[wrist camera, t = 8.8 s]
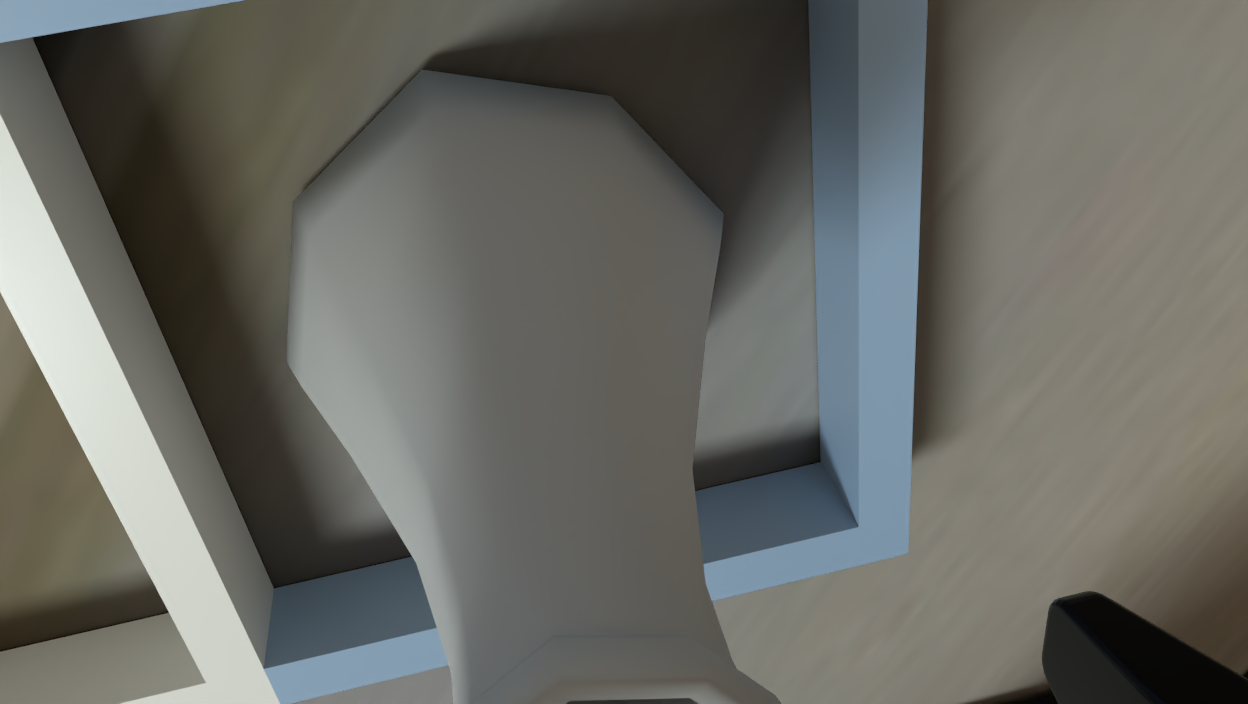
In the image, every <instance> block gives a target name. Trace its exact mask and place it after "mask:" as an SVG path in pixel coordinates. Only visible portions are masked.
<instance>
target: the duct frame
mask: <svg viewBox="0 0 1248 704" xmlns="http://www.w3.org/2000/svg"><path fill="white" fill-rule="evenodd" d="M237 1H243V0H0V292H1V294H2V296H3V298H4V300H5V302H6V304H7V306H8V308H9V310H10V311H11V313H12V315H13V317H14V319H15V321H16V323H17V325H18V327H19V329H20V330H21V332H22V334H23V336H24V338H25V340H26V342H27V344H28V346H29V347H30V349H31V351H32V353H33V355H34V357H35V359H36V361H37V363H38V365H39V366H40V368H41V370H42V372H43V374H44V376H45V378H46V380H47V382H48V384H49V385H50V387H51V389H52V391H53V393H54V395H55V397H56V399H57V401H58V403H59V404H60V406H61V408H62V410H63V412H64V414H65V416H66V418H67V420H68V422H69V423H70V425H71V427H72V429H73V431H74V433H75V435H76V437H77V439H78V441H79V442H80V444H81V446H82V448H83V450H84V452H85V454H86V456H87V458H88V460H89V461H90V463H91V465H92V467H93V469H94V471H95V473H96V475H97V477H98V479H99V480H100V482H101V484H102V486H103V488H104V490H105V492H106V494H107V496H108V498H109V499H110V501H111V503H112V505H113V507H114V509H115V511H116V513H117V515H118V517H119V518H120V520H121V522H122V524H123V526H124V528H125V530H126V532H127V534H128V536H129V537H130V539H131V541H132V543H133V545H134V547H135V549H136V551H137V553H138V555H139V556H140V558H141V560H142V562H143V564H144V566H145V568H146V570H147V572H148V574H149V575H150V577H151V579H152V581H153V583H154V585H155V587H156V589H157V591H158V593H159V594H160V596H161V598H162V600H163V602H164V604H165V606H166V608H167V610H168V612H169V613H166V614H162V615H157V616H153V617H149V618H144V619H140V620H136V621H131V622H127V623H123V624H118V625H114V626H110V627H105V628H101V629H97V630H92V631H88V632H84V633H80V634H75V635H71V636H67V637H62V638H58V639H54V640H49V641H45V642H41V643H36V644H32V645H28V646H23V647H19V648H15V649H10V650H6V651H2V652H0V704H291V703H295V702H299V701H303V700H307V699H311V698H315V697H319V696H324V695H328V694H332V693H336V692H340V691H344V690H348V689H352V688H357V687H361V686H365V685H369V684H373V683H377V682H381V681H385V680H390V679H394V678H398V677H402V676H406V675H410V674H414V673H418V672H422V671H427V670H431V669H435V668H439V667H443V666H447V665H449V664H448V661H447V658H446V655H445V652H444V649H443V646H442V642H441V639H440V636H439V633H438V630H437V627H436V624H435V620H434V617H433V614H432V611H431V608H430V605H429V602H428V598H427V595H426V592H425V589H424V586H423V583H422V580H421V576H420V573H419V570H418V567H417V564H416V562H415V560H414V559H413V557H408V558H404V559H400V560H395V561H391V562H387V563H382V564H378V565H374V566H369V567H365V568H361V569H356V570H352V571H348V572H343V573H339V574H335V575H330V576H326V577H322V578H317V579H313V580H309V581H304V582H300V583H296V584H291V585H287V586H283V587H278V588H273V586H272V583H271V581H270V579H269V576H268V574H267V572H266V570H265V567H264V565H263V563H262V560H261V558H260V556H259V554H258V551H257V549H256V547H255V544H254V542H253V540H252V538H251V535H250V533H249V531H248V528H247V526H246V524H245V522H244V519H243V517H242V515H241V513H240V510H239V508H238V506H237V503H236V501H235V499H234V497H233V494H232V492H231V490H230V487H229V485H228V483H227V481H226V478H225V476H224V474H223V471H222V469H221V467H220V465H219V462H218V460H217V458H216V456H215V453H214V451H213V449H212V446H211V444H210V442H209V440H208V437H207V435H206V433H205V430H204V428H203V426H202V424H201V421H200V419H199V417H198V414H197V412H196V410H195V408H194V405H193V403H192V401H191V398H190V396H189V394H188V392H187V389H186V387H185V385H184V383H183V380H182V378H181V376H180V373H179V371H178V369H177V367H176V364H175V362H174V360H173V357H172V355H171V353H170V351H169V348H168V346H167V344H166V341H165V339H164V337H163V335H162V332H161V330H160V328H159V326H158V323H157V321H156V319H155V316H154V314H153V312H152V310H151V307H150V305H149V303H148V300H147V298H146V296H145V294H144V291H143V289H142V287H141V284H140V282H139V280H138V278H137V275H136V273H135V271H134V269H133V266H132V264H131V262H130V259H129V257H128V255H127V253H126V250H125V248H124V246H123V243H122V241H121V239H120V237H119V234H118V232H117V230H116V227H115V225H114V223H113V221H112V218H111V216H110V214H109V211H108V209H107V207H106V205H105V202H104V200H103V198H102V196H101V193H100V191H99V189H98V186H97V184H96V182H95V180H94V177H93V175H92V173H91V170H90V168H89V166H88V164H87V161H86V159H85V157H84V154H83V152H82V150H81V148H80V145H79V143H78V141H77V139H76V136H75V134H74V132H73V129H72V127H71V125H70V123H69V120H68V118H67V116H66V113H65V111H64V109H63V107H62V104H61V102H60V100H59V97H58V95H57V93H56V91H55V88H54V86H53V84H52V82H51V79H50V77H49V75H48V72H47V70H46V68H45V66H44V63H43V61H42V59H41V56H40V54H39V52H38V50H37V47H36V45H35V43H34V40H33V38H32V37H37V36H42V35H48V34H54V33H60V32H65V31H71V30H77V29H82V28H88V27H94V26H100V25H105V24H111V23H117V22H122V21H128V20H134V19H140V18H145V17H151V16H157V15H163V14H168V13H174V12H180V11H185V10H191V9H197V8H203V7H208V6H214V5H220V4H226V3H231V2H237ZM808 8H809V45H810V83H811V120H812V158H813V195H814V233H815V270H816V308H817V345H818V383H819V420H820V458H821V462H819V463H815V464H810V465H806V466H802V467H797V468H793V469H789V470H784V471H780V472H776V473H771V474H767V475H763V476H758V477H754V478H750V479H745V480H741V481H737V482H732V483H728V484H724V485H720V486H715V487H711V488H707V489H702V490H698V491H695V496H696V504H697V513H698V522H699V530H700V539H701V548H702V557H703V565H704V574H705V583H706V586H707V589H708V592H709V595H710V598H711V600H712V601H715V600H719V599H723V598H728V597H732V596H736V595H740V594H744V593H748V592H752V591H756V590H761V589H765V588H769V587H773V586H777V585H781V584H785V583H789V582H793V581H798V580H802V579H806V578H810V577H814V576H818V575H822V574H826V573H831V572H835V571H839V570H843V569H847V568H851V567H855V566H859V565H864V564H868V563H872V562H876V561H880V560H884V559H888V558H892V557H897V556H901V555H905V554H908V545H909V517H910V489H911V461H912V432H913V404H914V376H915V348H916V319H917V291H918V263H919V235H920V207H921V178H922V150H923V122H924V94H925V66H926V37H927V9H928V0H808Z"/></svg>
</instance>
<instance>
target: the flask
mask: <svg viewBox="0 0 1248 704" xmlns="http://www.w3.org/2000/svg"><path fill="white" fill-rule="evenodd" d="M723 217H724V214H723V213H722V212H721V211H720V209H719V208H718V207H717V206H716V205H715V204H714V203H713V202H712V201H711V200H710V199H709V198H708V197H707V196H706V195H705V194H704V193H703V192H702V191H701V190H700V189H699V187H698V186H697V185H696V184H695V183H694V182H693V181H692V180H691V179H690V178H689V177H688V176H687V175H686V174H685V173H684V172H683V171H682V170H681V169H680V168H679V166H678V165H677V164H676V163H675V162H674V161H673V160H672V159H671V158H670V157H669V156H668V155H667V154H666V153H665V152H664V151H663V150H662V149H661V148H660V147H659V145H658V144H657V143H656V142H655V141H654V140H653V139H652V138H651V137H650V136H649V135H648V134H647V133H646V132H645V131H644V130H643V129H642V128H641V127H640V126H639V125H638V123H637V122H636V121H635V120H634V119H633V118H632V117H631V116H630V115H629V114H628V113H627V112H626V111H625V110H624V109H623V108H622V107H621V106H620V105H619V104H618V102H617V101H616V100H615V99H614V98H613V97H612V96H609V95H602V94H594V93H587V92H580V91H573V90H566V89H558V88H551V87H544V86H537V85H530V84H522V83H515V82H508V81H501V80H494V79H486V78H479V77H472V76H465V75H458V74H450V73H443V72H436V71H429V70H421V71H420V72H419V73H418V74H417V75H416V76H415V77H414V78H413V79H412V80H411V81H410V82H409V83H408V84H407V85H406V86H405V87H404V88H403V89H402V91H401V92H400V93H399V94H398V95H397V96H396V97H395V98H394V99H393V100H392V101H391V102H390V103H389V104H388V105H387V106H386V107H385V108H384V109H383V110H382V111H381V112H380V113H379V114H378V115H377V116H376V117H375V118H374V119H373V120H372V121H371V122H370V123H369V124H368V125H367V126H366V127H365V128H364V129H363V131H362V132H361V133H360V134H359V135H358V136H357V137H356V138H355V139H354V140H353V141H352V142H351V143H350V144H349V145H348V146H347V147H346V148H345V149H344V150H343V151H342V152H341V153H340V154H339V155H338V156H337V157H336V158H335V159H334V160H333V161H332V162H331V163H330V164H329V165H328V166H327V167H326V168H325V169H324V171H323V172H322V173H321V174H320V175H319V176H318V177H317V178H316V179H315V180H314V181H313V182H312V183H311V184H310V185H309V186H308V187H307V188H306V189H305V190H304V191H303V192H302V193H301V194H300V195H299V196H298V197H297V198H296V199H295V200H294V201H293V209H292V233H291V258H290V282H289V306H288V331H287V355H286V362H287V364H288V365H289V367H290V368H291V370H292V372H293V373H294V375H295V377H296V378H297V380H298V382H299V383H300V385H301V386H302V388H303V389H304V391H305V392H306V393H307V395H308V396H309V398H310V399H311V400H312V402H313V403H314V405H315V406H316V408H317V409H318V410H319V412H320V413H321V415H322V416H323V417H324V419H325V420H326V422H327V423H328V424H329V426H330V427H331V429H332V430H333V431H334V433H335V434H336V436H337V437H338V438H339V440H340V441H341V443H342V444H343V446H344V447H345V448H346V450H347V451H348V453H349V454H350V455H351V457H352V459H353V460H354V462H355V463H356V465H357V467H358V468H359V470H360V472H361V473H362V475H363V477H364V478H365V480H366V482H367V483H368V485H369V486H370V488H371V490H372V491H373V493H374V495H375V496H376V498H377V500H378V501H379V503H380V504H381V506H382V508H383V509H384V511H385V513H386V514H387V516H388V518H389V519H390V521H391V523H392V524H393V526H394V527H395V529H396V531H397V532H398V534H399V536H400V537H401V539H402V541H403V542H404V544H405V546H406V547H407V549H408V550H409V552H410V554H411V555H412V557H413V559H414V560H415V562H416V564H417V567H418V570H419V573H420V576H421V580H422V583H423V586H424V589H425V592H426V595H427V598H428V602H429V605H430V608H431V611H432V614H433V617H434V620H435V624H436V627H437V630H438V633H439V636H440V639H441V642H442V646H443V649H444V652H445V655H446V658H447V661H448V664H449V668H450V671H451V680H452V691H453V703H454V704H781V702H780V701H779V700H778V698H777V697H776V696H775V695H774V694H773V693H771V692H770V691H768V690H767V689H765V688H764V687H762V686H761V685H759V684H758V683H757V682H755V681H754V680H752V679H751V678H749V677H748V676H746V675H745V674H743V673H742V672H741V671H739V670H738V669H737V668H736V666H735V665H734V663H733V661H732V658H731V655H730V653H729V650H728V647H727V644H726V641H725V638H724V635H723V632H722V629H721V626H720V624H719V621H718V618H717V615H716V612H715V609H714V606H713V603H712V600H711V598H710V595H709V592H708V589H707V586H706V583H705V574H704V565H703V557H702V548H701V539H700V530H699V522H698V513H697V504H696V496H695V487H694V478H693V470H692V468H693V458H694V448H695V438H696V428H697V418H698V408H699V399H700V389H701V379H702V369H703V359H704V349H705V339H706V332H707V326H708V320H709V313H710V307H711V301H712V295H713V289H714V283H715V276H716V270H717V264H718V258H719V252H720V246H721V237H722V227H723Z"/></svg>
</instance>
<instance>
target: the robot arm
mask: <svg viewBox="0 0 1248 704" xmlns="http://www.w3.org/2000/svg"><path fill="white" fill-rule="evenodd" d="M1042 664H1043V669H1044V673H1045V676H1046V679H1047V681H1048V683H1049V686H1050V688H1051V690H1052V692H1053V694H1054V695H1052V696H1048V697H1045V698H1041V699H1037V700H1033V701H1029V702H1025V703H1022V704H1248V679H1247V678H1245V677H1243V676H1242V675H1240V674H1238V673H1237V672H1235V671H1233V670H1231V669H1230V668H1228V667H1226V666H1225V665H1223V664H1221V663H1219V662H1218V661H1216V660H1214V659H1213V658H1211V657H1209V656H1207V655H1206V654H1204V653H1202V652H1201V651H1199V650H1197V649H1195V648H1194V647H1192V646H1190V645H1189V644H1187V643H1185V642H1183V641H1182V640H1180V639H1178V638H1177V637H1175V636H1173V635H1171V634H1170V633H1168V632H1166V631H1165V630H1163V629H1161V628H1159V627H1158V626H1156V625H1154V624H1152V623H1151V622H1149V621H1147V620H1146V619H1144V618H1142V617H1140V616H1139V615H1137V614H1135V613H1134V612H1132V611H1130V610H1128V609H1127V608H1125V607H1123V606H1122V605H1120V604H1118V603H1116V602H1115V601H1113V600H1111V599H1110V598H1108V597H1106V596H1104V595H1102V594H1100V593H1097V592H1092V591H1088V592H1082V593H1078V594H1074V595H1070V596H1066V597H1062V598H1058V599H1056V600H1054V601H1053V603H1052V604H1051V605H1050V607H1049V611H1048V618H1047V624H1046V631H1045V638H1044V645H1043V651H1042Z"/></svg>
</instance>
